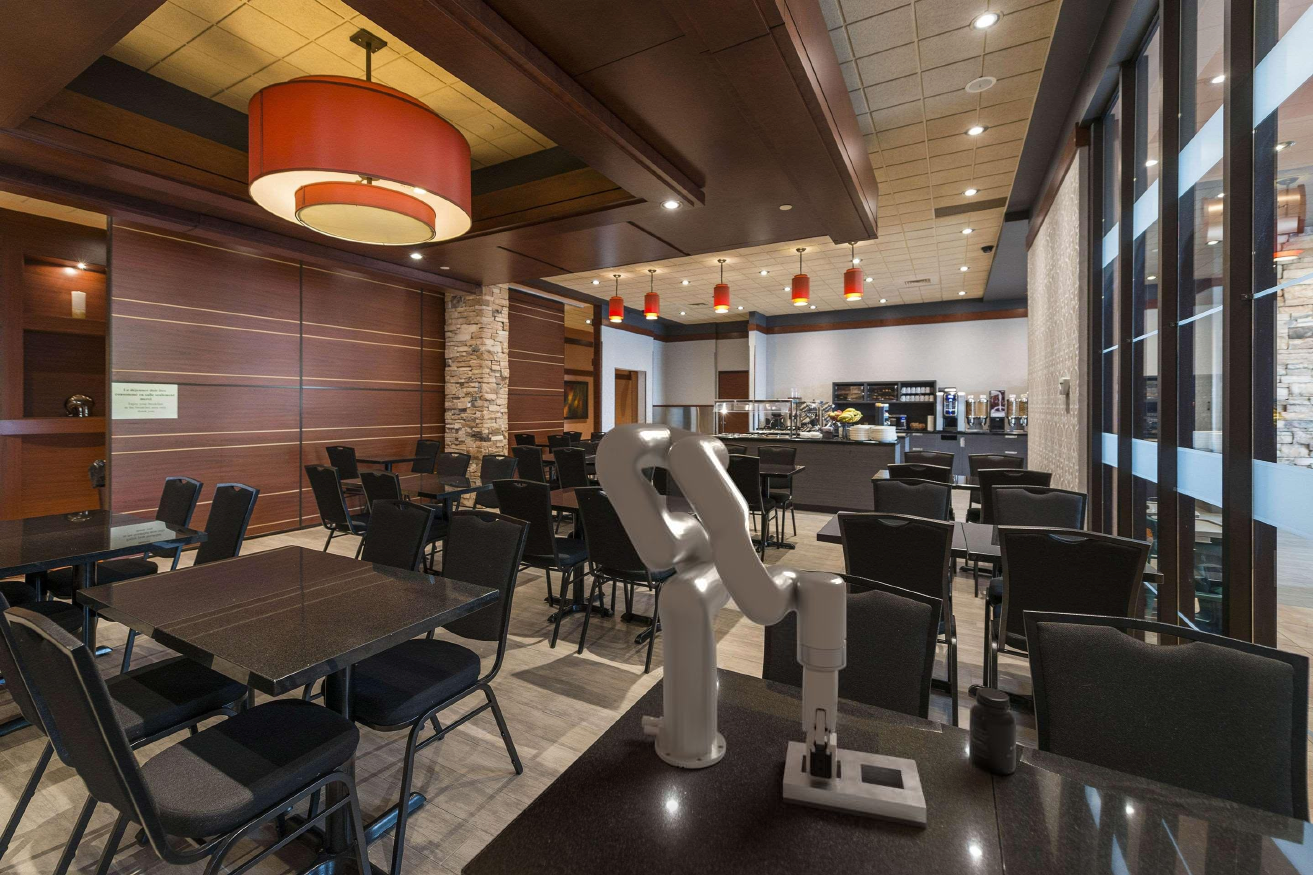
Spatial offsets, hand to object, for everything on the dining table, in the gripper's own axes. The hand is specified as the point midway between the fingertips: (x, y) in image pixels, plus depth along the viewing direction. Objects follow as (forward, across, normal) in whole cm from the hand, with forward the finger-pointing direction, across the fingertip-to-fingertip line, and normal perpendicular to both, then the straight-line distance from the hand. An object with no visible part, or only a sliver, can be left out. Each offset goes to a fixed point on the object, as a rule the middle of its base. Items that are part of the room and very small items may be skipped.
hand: (821, 762), depth 92 cm
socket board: (+4, 0, +4) cm, 6 cm away
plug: (+3, 0, 0) cm, 3 cm away
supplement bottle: (+4, -14, +28) cm, 31 cm away
